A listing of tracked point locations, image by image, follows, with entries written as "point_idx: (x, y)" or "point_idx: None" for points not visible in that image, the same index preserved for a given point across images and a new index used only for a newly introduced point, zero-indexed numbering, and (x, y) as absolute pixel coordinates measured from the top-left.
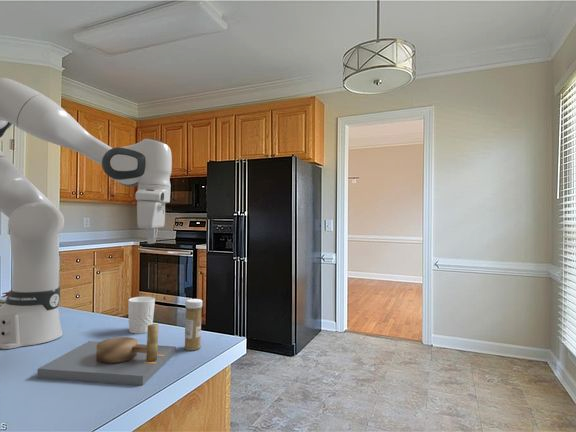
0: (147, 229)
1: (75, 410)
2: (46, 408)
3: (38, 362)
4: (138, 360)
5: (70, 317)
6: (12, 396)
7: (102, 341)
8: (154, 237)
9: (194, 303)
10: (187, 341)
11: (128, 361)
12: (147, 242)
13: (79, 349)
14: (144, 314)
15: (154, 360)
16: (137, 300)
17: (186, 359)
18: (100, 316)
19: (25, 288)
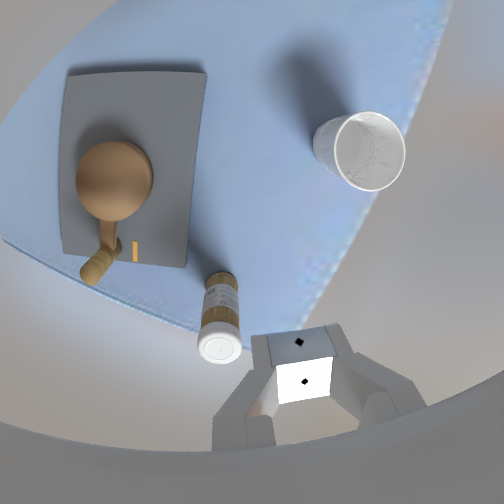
0: (214, 443)
1: (12, 195)
2: (11, 159)
3: (133, 32)
4: None
5: None
6: (29, 94)
7: (114, 145)
8: (278, 404)
9: (198, 350)
10: (207, 287)
11: None
12: (251, 338)
13: (152, 82)
14: (327, 164)
15: None
16: (391, 131)
17: (165, 286)
18: (430, 36)
19: None
